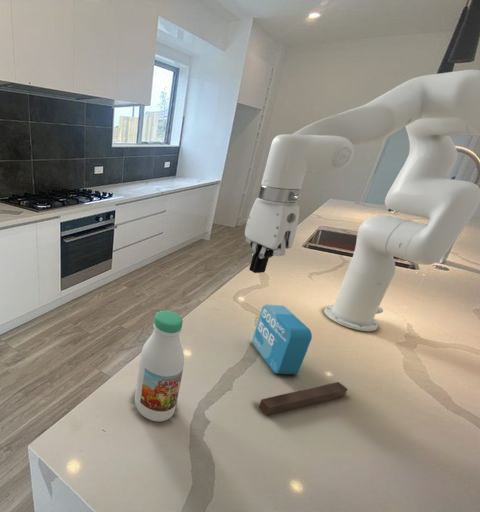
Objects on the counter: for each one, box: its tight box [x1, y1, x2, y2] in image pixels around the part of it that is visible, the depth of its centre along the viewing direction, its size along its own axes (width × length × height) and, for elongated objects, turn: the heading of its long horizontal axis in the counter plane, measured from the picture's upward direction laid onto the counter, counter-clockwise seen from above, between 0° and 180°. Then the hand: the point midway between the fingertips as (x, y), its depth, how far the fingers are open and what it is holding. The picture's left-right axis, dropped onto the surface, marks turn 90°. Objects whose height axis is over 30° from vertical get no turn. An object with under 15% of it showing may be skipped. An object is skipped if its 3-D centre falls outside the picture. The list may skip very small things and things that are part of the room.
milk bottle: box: [134, 310, 185, 422], centre depth 53 cm, size 8×8×20 cm
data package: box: [252, 304, 313, 376], centre depth 69 cm, size 12×4×12 cm, turn 179°
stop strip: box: [258, 381, 349, 416], centre depth 59 cm, size 20×2×2 cm, turn 106°
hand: (256, 271), depth 72 cm, fingers closed
